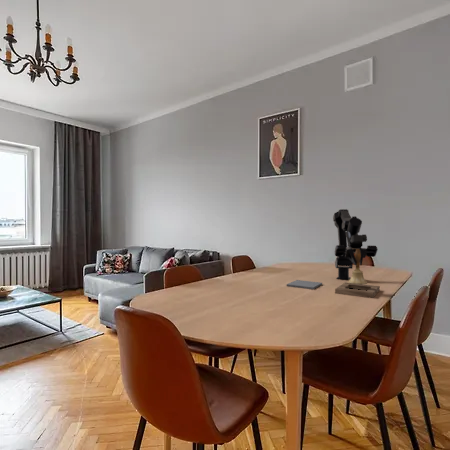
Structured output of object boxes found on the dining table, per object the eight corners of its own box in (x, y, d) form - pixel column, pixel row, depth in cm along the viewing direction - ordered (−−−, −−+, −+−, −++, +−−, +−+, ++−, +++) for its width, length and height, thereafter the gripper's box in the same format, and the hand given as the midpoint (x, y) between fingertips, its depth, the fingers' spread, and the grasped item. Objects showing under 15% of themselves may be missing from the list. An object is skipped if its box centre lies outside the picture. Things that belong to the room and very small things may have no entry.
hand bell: (347, 280, 153) (347, 247, 152) (366, 281, 150) (366, 248, 150) (348, 283, 145) (348, 249, 145) (368, 284, 142) (368, 250, 142)
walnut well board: (345, 286, 159) (345, 282, 159) (379, 290, 150) (379, 286, 150) (335, 293, 145) (335, 288, 145) (372, 297, 135) (372, 293, 135)
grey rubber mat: (297, 281, 172) (296, 279, 172) (322, 284, 164) (322, 282, 164) (286, 286, 161) (286, 284, 161) (313, 289, 153) (313, 287, 153)
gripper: (335, 228, 152) (340, 253, 142) (376, 228, 149) (384, 254, 139) (332, 243, 160) (336, 268, 150) (371, 243, 157) (378, 269, 147)
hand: (358, 264), depth 146 cm, fingers closed on hand bell
